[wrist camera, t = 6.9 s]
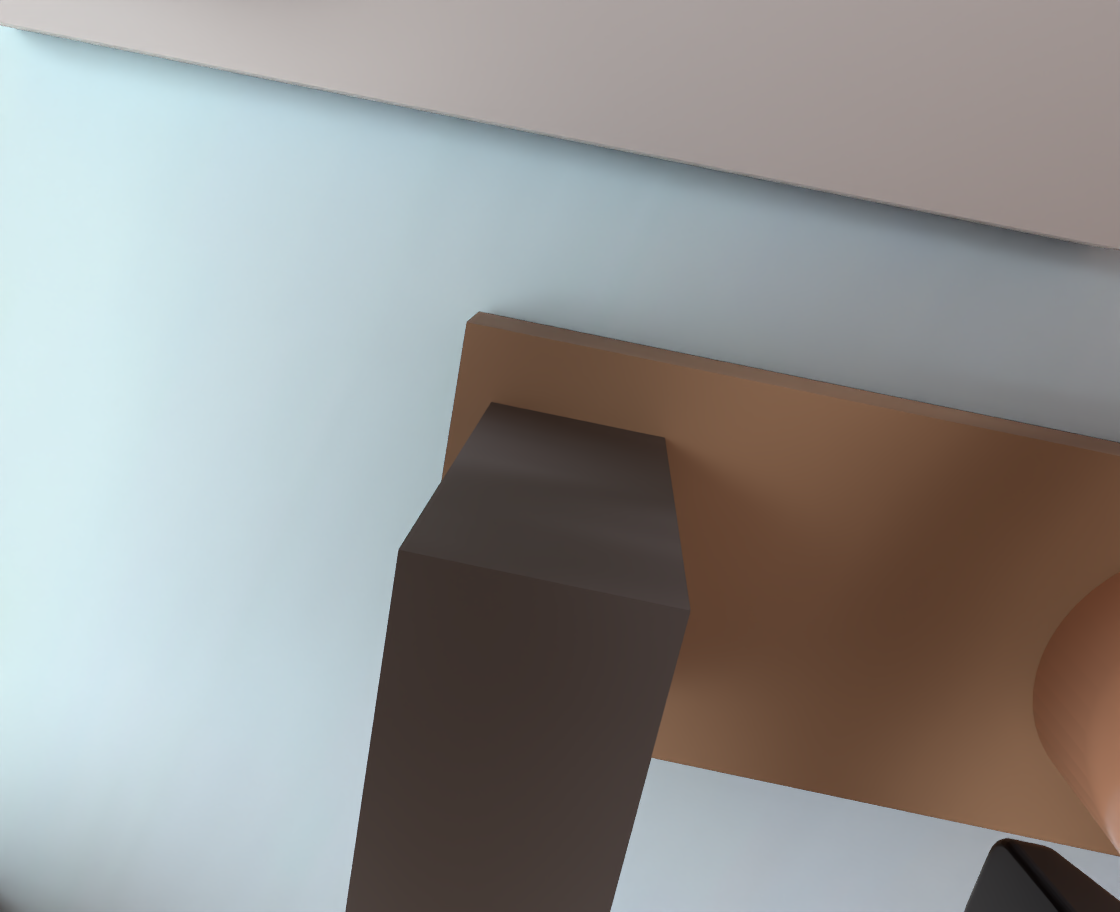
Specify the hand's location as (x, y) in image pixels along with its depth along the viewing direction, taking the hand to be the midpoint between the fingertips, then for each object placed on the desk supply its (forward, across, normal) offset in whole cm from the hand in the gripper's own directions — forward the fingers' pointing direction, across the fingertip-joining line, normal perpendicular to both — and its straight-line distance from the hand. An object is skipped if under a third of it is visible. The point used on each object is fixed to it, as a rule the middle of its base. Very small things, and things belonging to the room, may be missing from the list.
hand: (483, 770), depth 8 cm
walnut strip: (+6, -6, 0) cm, 8 cm away
